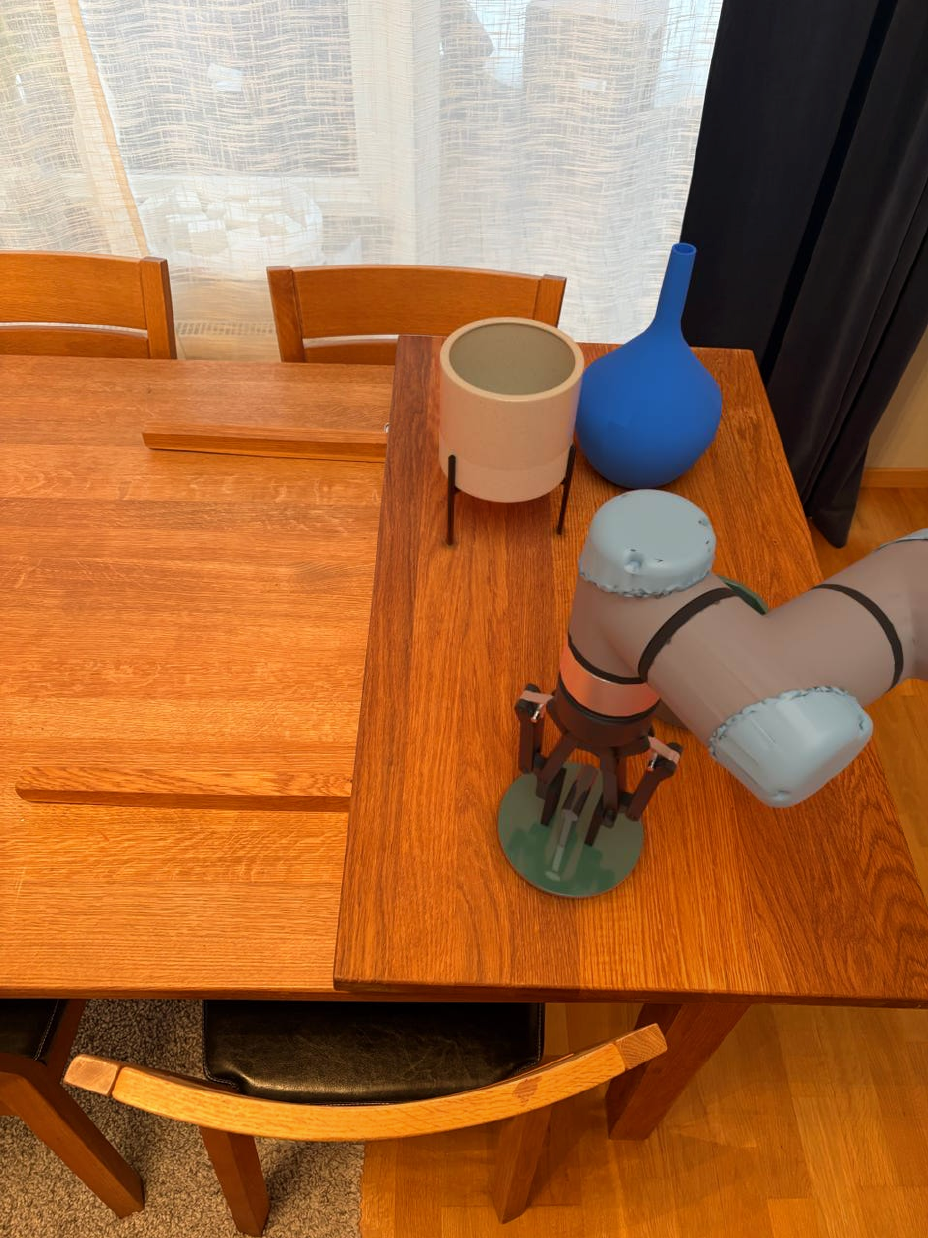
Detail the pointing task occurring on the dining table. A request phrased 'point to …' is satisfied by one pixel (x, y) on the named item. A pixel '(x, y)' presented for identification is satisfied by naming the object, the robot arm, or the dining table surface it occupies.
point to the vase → (650, 396)
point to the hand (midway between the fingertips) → (571, 822)
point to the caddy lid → (567, 837)
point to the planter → (508, 411)
